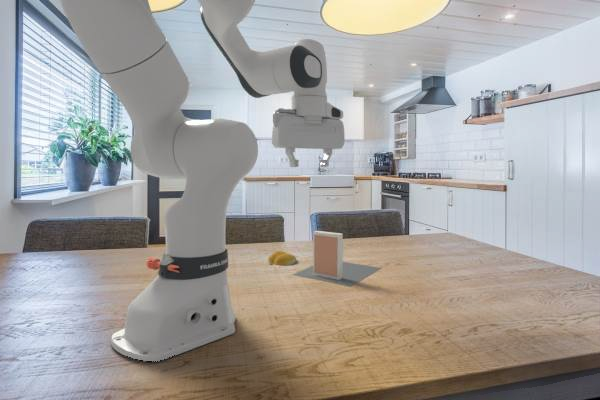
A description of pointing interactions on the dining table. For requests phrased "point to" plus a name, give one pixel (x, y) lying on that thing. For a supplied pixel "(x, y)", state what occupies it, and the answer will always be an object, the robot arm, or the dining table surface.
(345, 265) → the mat
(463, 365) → the dining table surface
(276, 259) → the bread roll
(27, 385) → the dining table surface
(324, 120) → the robot arm
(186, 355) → the dining table surface
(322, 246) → the tile
